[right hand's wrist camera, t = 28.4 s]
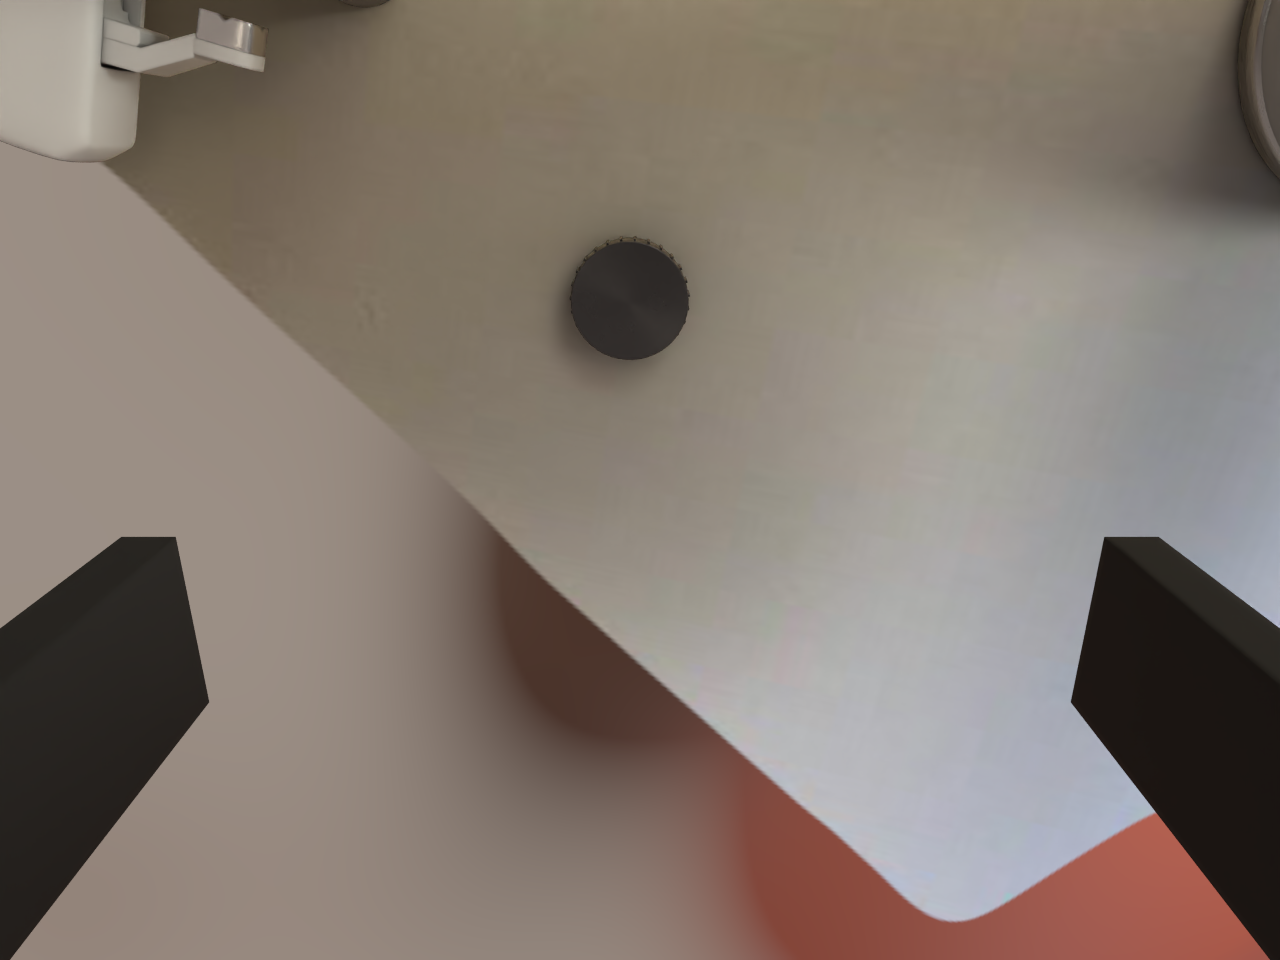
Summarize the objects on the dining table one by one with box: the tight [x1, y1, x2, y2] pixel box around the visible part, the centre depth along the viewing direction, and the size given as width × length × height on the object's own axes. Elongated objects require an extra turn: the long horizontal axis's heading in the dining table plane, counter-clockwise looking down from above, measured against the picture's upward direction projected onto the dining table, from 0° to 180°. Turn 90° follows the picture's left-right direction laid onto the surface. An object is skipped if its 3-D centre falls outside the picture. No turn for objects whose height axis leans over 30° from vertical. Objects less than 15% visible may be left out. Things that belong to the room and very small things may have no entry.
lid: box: [570, 236, 690, 360], centre depth 40 cm, size 5×5×2 cm
